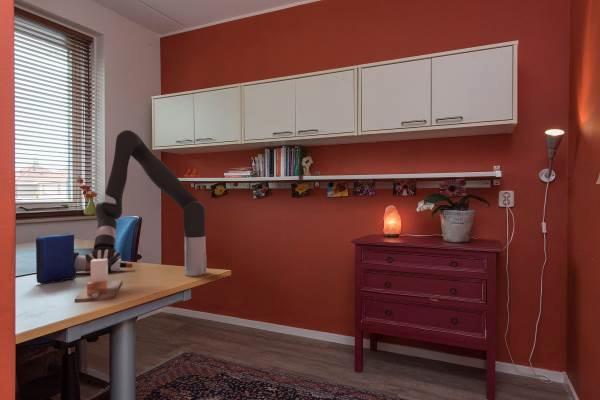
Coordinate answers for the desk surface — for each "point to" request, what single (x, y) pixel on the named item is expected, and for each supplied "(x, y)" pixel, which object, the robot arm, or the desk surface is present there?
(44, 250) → the book
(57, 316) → the desk surface
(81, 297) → the rail board
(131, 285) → the desk surface
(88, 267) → the grey brown bottle
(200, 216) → the robot arm
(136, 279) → the desk surface
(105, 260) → the sleeve
